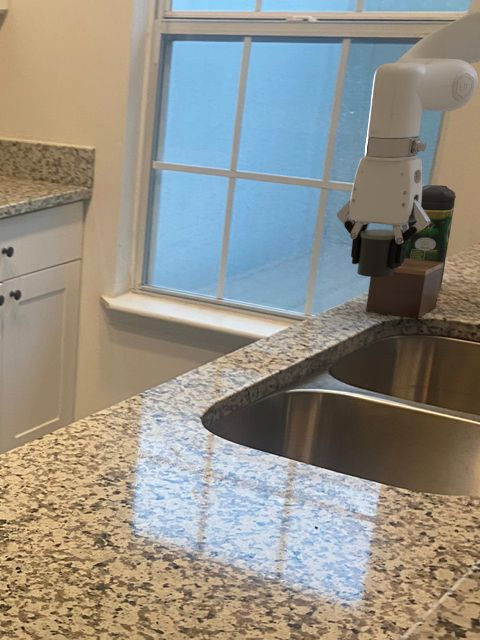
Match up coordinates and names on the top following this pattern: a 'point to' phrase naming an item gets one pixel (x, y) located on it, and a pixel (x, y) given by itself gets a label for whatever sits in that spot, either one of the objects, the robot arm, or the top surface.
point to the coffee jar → (433, 226)
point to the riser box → (406, 289)
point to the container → (375, 253)
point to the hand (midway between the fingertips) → (376, 264)
